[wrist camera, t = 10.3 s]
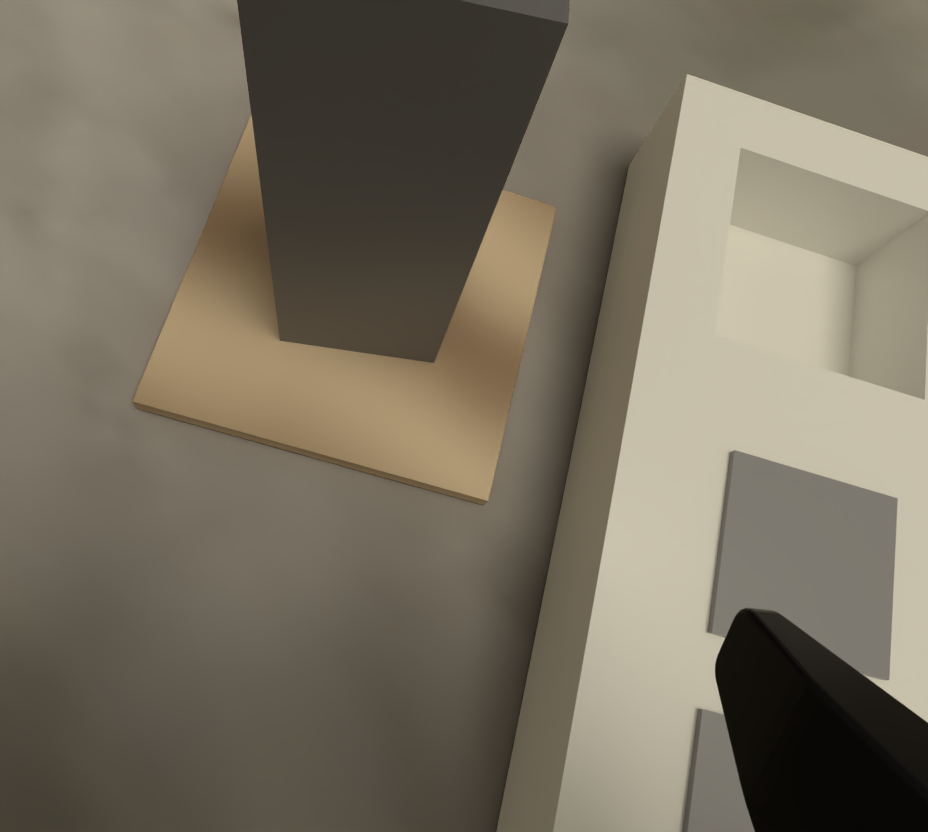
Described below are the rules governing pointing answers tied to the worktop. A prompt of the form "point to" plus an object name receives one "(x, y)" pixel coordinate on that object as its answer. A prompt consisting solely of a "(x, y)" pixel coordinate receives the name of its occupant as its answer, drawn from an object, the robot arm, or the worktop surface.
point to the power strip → (732, 459)
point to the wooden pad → (347, 355)
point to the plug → (386, 154)
